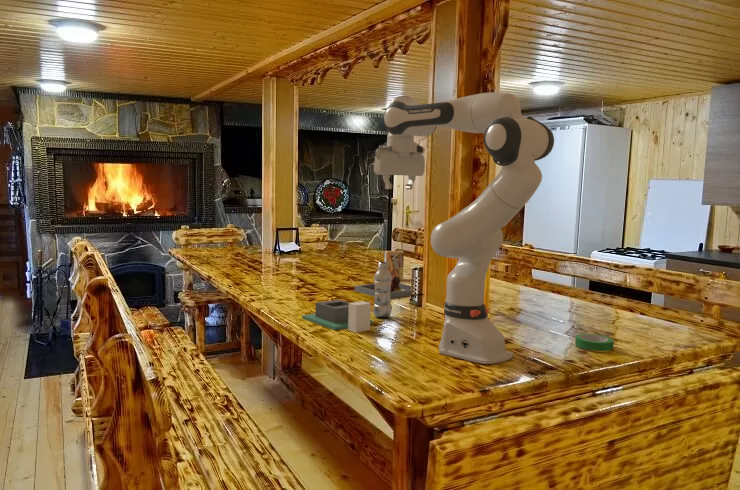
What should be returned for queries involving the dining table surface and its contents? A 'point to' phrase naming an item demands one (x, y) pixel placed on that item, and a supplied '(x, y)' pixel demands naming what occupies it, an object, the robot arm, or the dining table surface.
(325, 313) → the header board
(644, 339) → the dining table surface
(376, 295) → the plastic bottle
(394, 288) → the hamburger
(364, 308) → the plug
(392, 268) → the candy box
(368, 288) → the burger tray
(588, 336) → the tape roll
